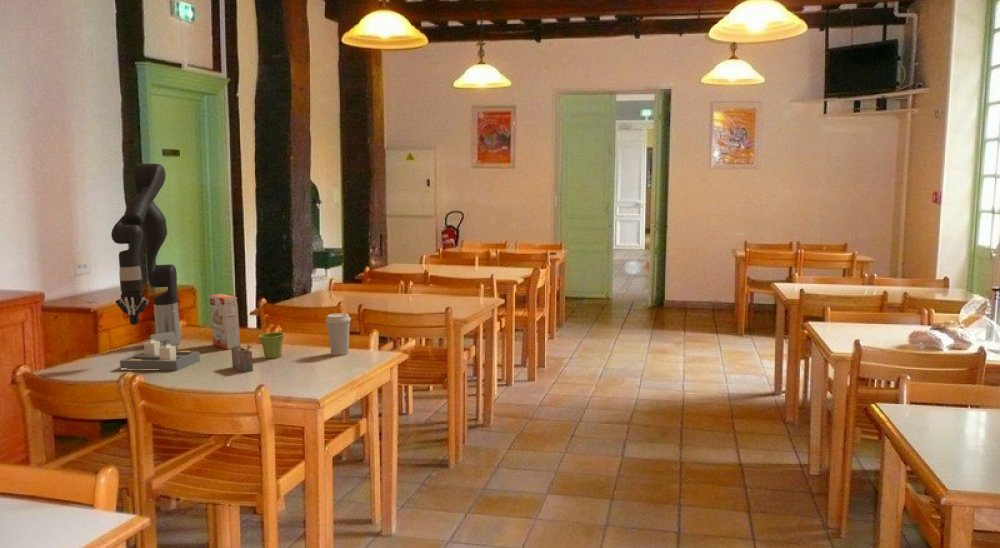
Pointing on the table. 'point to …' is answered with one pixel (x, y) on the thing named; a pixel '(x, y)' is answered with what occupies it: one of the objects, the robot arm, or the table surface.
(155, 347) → the white block
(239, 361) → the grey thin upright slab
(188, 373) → the table surface
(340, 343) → the coffee cup
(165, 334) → the electrical switch
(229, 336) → the cracker box
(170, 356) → the tab
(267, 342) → the plant pot
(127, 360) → the grey compartment tray
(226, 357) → the table surface
